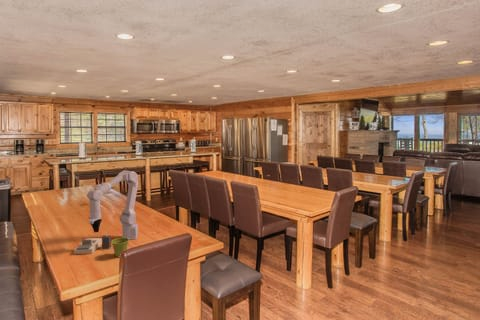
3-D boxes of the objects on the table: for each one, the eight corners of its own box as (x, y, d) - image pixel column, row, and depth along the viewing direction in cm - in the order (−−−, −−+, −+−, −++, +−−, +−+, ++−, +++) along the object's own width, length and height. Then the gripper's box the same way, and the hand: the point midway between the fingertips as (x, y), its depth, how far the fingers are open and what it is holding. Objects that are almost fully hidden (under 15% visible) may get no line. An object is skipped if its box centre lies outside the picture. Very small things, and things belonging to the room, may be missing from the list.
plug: (111, 246, 190) (110, 233, 189) (109, 248, 186) (108, 235, 185) (104, 246, 189) (103, 233, 189) (102, 249, 186) (101, 235, 185)
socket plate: (102, 241, 197) (102, 238, 197) (92, 253, 179) (92, 249, 179) (86, 242, 196) (86, 238, 196) (74, 253, 178) (73, 249, 178)
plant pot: (129, 257, 174) (128, 242, 173) (111, 259, 171) (110, 244, 170) (130, 251, 183) (129, 236, 182) (112, 252, 180) (112, 238, 179)
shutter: (92, 244, 185) (92, 239, 185) (88, 249, 178) (88, 243, 178) (81, 245, 184) (81, 239, 184) (76, 249, 178) (76, 244, 177)
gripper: (92, 206, 192) (94, 228, 193) (83, 213, 178) (84, 236, 179) (104, 206, 193) (105, 227, 194) (96, 213, 178) (97, 236, 180)
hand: (96, 232), depth 187 cm, fingers closed
